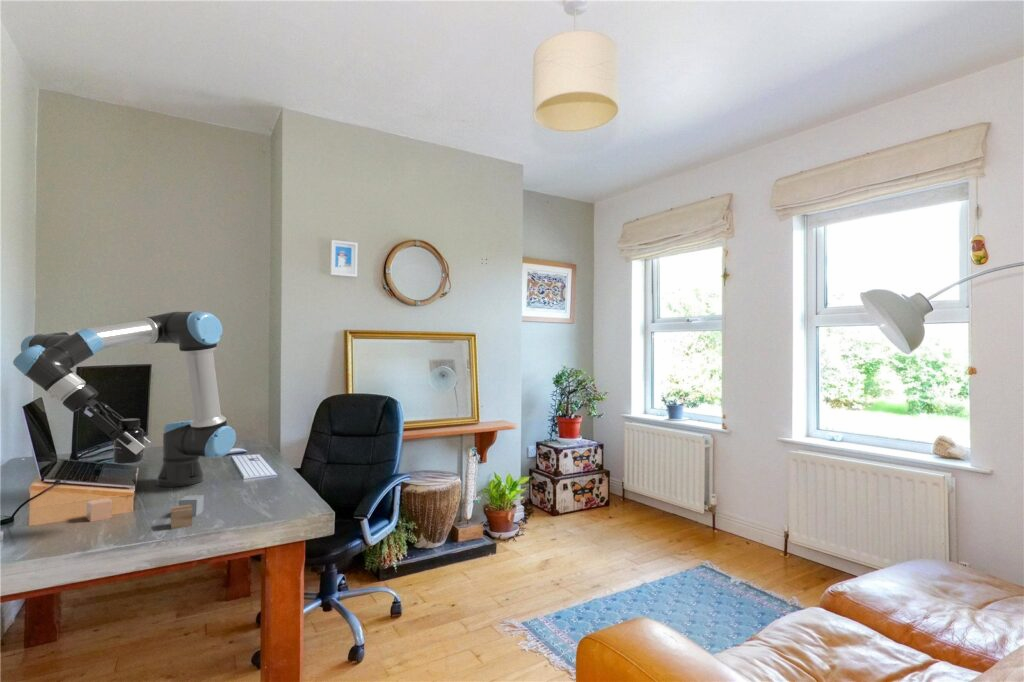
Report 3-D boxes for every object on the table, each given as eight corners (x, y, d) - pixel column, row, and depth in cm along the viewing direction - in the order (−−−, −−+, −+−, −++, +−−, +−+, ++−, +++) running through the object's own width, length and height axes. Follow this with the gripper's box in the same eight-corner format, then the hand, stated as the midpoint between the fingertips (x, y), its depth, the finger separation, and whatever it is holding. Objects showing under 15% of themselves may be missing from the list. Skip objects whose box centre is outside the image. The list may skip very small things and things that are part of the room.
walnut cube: (170, 524, 149) (171, 507, 149) (190, 521, 152) (191, 504, 152) (171, 529, 145) (171, 511, 145) (191, 526, 148) (192, 509, 148)
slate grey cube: (185, 511, 161) (186, 495, 161) (203, 511, 162) (203, 495, 162) (178, 516, 156) (178, 500, 156) (196, 516, 157) (196, 499, 157)
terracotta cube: (86, 518, 153) (87, 501, 153) (107, 514, 157) (108, 497, 157) (90, 521, 150) (91, 504, 150) (111, 517, 153) (112, 501, 154)
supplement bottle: (108, 464, 143) (109, 421, 143) (119, 459, 150) (121, 417, 150) (137, 463, 145) (138, 420, 145) (147, 458, 151) (148, 417, 152)
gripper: (74, 399, 150) (140, 451, 157) (47, 407, 132) (123, 465, 139) (97, 381, 152) (161, 433, 159) (74, 386, 134) (147, 444, 141)
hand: (143, 448), depth 149 cm, fingers closed on supplement bottle, 7 cm apart
